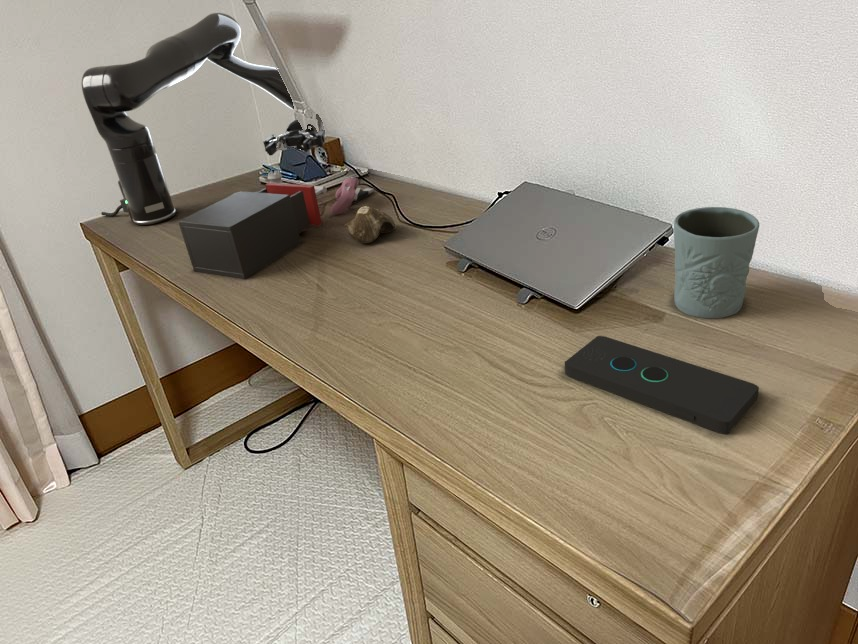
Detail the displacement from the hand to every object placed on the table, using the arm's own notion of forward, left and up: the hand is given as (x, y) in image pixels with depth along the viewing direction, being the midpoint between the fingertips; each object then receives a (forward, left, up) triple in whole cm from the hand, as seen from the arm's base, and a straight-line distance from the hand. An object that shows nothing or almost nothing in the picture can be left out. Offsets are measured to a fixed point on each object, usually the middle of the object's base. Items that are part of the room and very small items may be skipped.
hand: (286, 149), depth 158 cm
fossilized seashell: (+35, -20, -10) cm, 42 cm away
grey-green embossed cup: (+97, -30, -10) cm, 102 cm away
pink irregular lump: (+20, -7, -10) cm, 24 cm away
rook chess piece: (+4, -10, -10) cm, 15 cm away
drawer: (+16, -23, -9) cm, 29 cm away
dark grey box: (+16, -34, -10) cm, 39 cm away
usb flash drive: (+18, -2, -10) cm, 21 cm away
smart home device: (+95, -51, -10) cm, 109 cm away
